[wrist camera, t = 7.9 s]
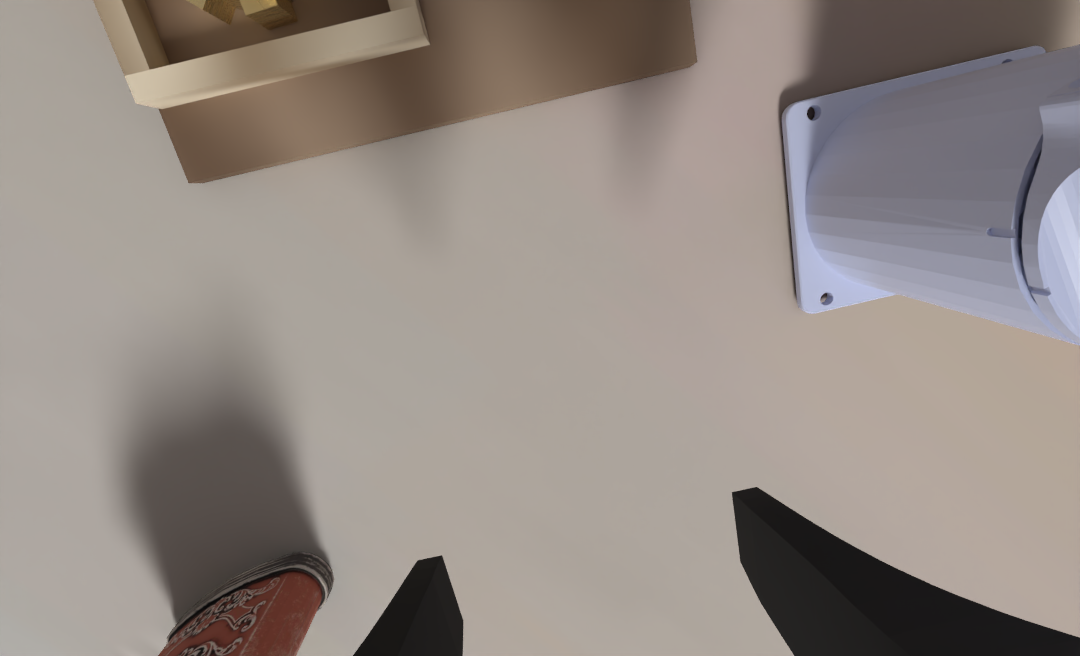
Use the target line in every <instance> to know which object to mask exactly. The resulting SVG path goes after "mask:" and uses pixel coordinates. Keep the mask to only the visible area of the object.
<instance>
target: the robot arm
mask: <svg viewBox="0 0 1080 656" xmlns="http://www.w3.org/2000/svg"><path fill="white" fill-rule="evenodd" d="M809 107H812V108H813V109H814V111H815V116H814V118H813V119H812V120H810V119H808V117H807V110H808V109H809ZM782 130H783V142H784V153H785V165H786V177H787V188H788V200H789V212H790V224H791V235H792V247H793V259H794V271H795V282H796V294H797V304H798V307H799V308H800V309H801V310H802V311H805V312H807V313H810V314H811V313H818V312H823V311H827V310H831V309H836V308H840V307H844V306H849V305H853V304H857V303H862V302H866V301H870V300H875V299H879V298H883V297H888V296H892V295H896V294H899V295H902V296H906V297H909V298H913V299H916V300H920V301H923V302H927V303H931V304H934V305H938V306H941V307H945V308H948V309H952V310H955V311H959V312H963V313H966V314H970V315H973V316H977V317H980V318H984V319H987V320H991V321H994V322H998V323H1002V324H1005V325H1009V326H1012V327H1016V328H1019V329H1023V330H1026V331H1030V332H1033V333H1037V334H1041V335H1044V336H1048V337H1051V338H1055V339H1058V340H1062V341H1065V342H1069V343H1073V344H1076V345H1080V44H1079V45H1075V46H1071V47H1067V48H1063V49H1059V50H1055V51H1051V52H1047V53H1046V51H1045V49H1044V48H1043V47H1041V46H1031V47H1027V48H1022V49H1018V50H1014V51H1010V52H1005V53H1001V54H997V55H993V56H989V57H984V58H980V59H976V60H972V61H967V62H963V63H959V64H955V65H950V66H946V67H942V68H938V69H934V70H929V71H925V72H921V73H917V74H912V75H908V76H904V77H900V78H895V79H891V80H887V81H883V82H879V83H874V84H870V85H866V86H862V87H857V88H853V89H849V90H845V91H840V92H836V93H832V94H828V95H823V96H819V97H815V98H811V99H807V100H802V101H798V102H795V103H792V104H790V105H788V107H787V108H786V109H785V110H784V112H783V114H782ZM824 293H827V299H826V300H825V302H823V303H821V302H820V298H821V296H822V295H823V294H824ZM732 497H733V505H734V513H735V521H736V529H737V537H738V545H739V553H740V561H741V563H742V566H743V568H744V570H745V572H746V574H747V576H748V578H749V580H750V582H751V584H752V586H753V588H754V590H755V592H756V594H757V596H758V598H759V600H760V602H761V604H762V605H763V607H764V609H765V610H766V612H767V613H768V615H769V617H770V618H771V620H772V621H773V623H774V624H775V626H776V628H777V629H778V631H779V632H780V634H781V636H782V637H783V639H784V640H785V642H786V643H787V645H788V646H789V648H790V650H791V651H792V653H793V654H794V656H1080V638H1079V637H1076V636H1072V635H1069V634H1066V633H1063V632H1060V631H1057V630H1053V629H1050V628H1047V627H1044V626H1041V625H1038V624H1035V623H1031V622H1028V621H1025V620H1022V619H1020V618H1017V617H1014V616H1011V615H1008V614H1005V613H1002V612H999V611H997V610H994V609H991V608H989V607H986V606H983V605H981V604H978V603H976V602H973V601H970V600H968V599H965V598H963V597H960V596H957V595H955V594H953V593H950V592H948V591H945V590H943V589H940V588H938V587H936V586H933V585H931V584H929V583H927V582H925V581H922V580H920V579H918V578H916V577H914V576H911V575H909V574H907V573H905V572H903V571H900V570H898V569H896V568H894V567H892V566H890V565H888V564H886V563H884V562H882V561H880V560H878V559H876V558H874V557H873V556H871V555H869V554H867V553H865V552H863V551H861V550H859V549H857V548H856V547H854V546H852V545H850V544H848V543H847V542H845V541H843V540H841V539H839V538H838V537H836V536H834V535H833V534H831V533H829V532H827V531H826V530H824V529H822V528H821V527H819V526H817V525H816V524H814V523H813V522H811V521H809V520H808V519H806V518H804V517H803V516H801V515H800V514H798V513H796V512H795V511H793V510H792V509H790V508H789V507H787V506H785V505H784V504H782V503H781V502H779V501H778V500H776V499H775V498H773V497H772V496H770V495H768V494H767V493H765V492H764V491H762V490H761V489H759V488H757V487H755V488H750V489H746V490H741V491H736V492H732ZM462 654H463V619H462V616H461V613H460V610H459V606H458V603H457V600H456V597H455V594H454V591H453V588H452V585H451V582H450V579H449V576H448V572H447V569H446V566H445V563H444V560H443V557H442V555H441V556H437V557H432V558H427V559H423V560H418V561H417V562H416V564H415V565H414V567H413V568H412V570H411V571H410V573H409V574H408V576H407V577H406V579H405V580H404V582H403V583H402V585H401V587H400V588H399V590H398V591H397V593H396V594H395V596H394V597H393V599H392V600H391V602H390V603H389V605H388V606H387V608H386V610H385V611H384V612H383V614H382V615H381V617H380V618H379V620H378V621H377V623H376V624H375V626H374V627H373V629H372V630H371V632H370V633H369V634H368V636H367V637H366V639H365V640H364V642H363V643H362V644H361V646H360V647H359V648H358V650H357V651H356V652H355V654H354V655H353V656H462Z"/></svg>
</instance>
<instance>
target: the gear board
mask: <svg viewBox="0 0 1080 656" xmlns="http://www.w3.org/2000/svg"><path fill="white" fill-rule="evenodd" d="M93 1H94V4H95V6H96V8H97V11H98V13H99V16H100V18H101V20H102V23H103V25H104V28H105V30H106V32H107V35H108V37H109V40H110V42H111V44H112V47H113V49H114V52H115V54H116V56H117V59H118V61H119V64H120V66H121V68H122V71H123V73H124V76H125V78H126V81H127V83H128V85H129V88H130V90H131V93H132V95H133V97H134V100H135V102H136V104H140V105H145V106H150V107H154V108H159V111H160V113H161V116H162V118H163V121H164V123H165V126H166V128H167V131H168V133H169V136H170V138H171V141H172V143H173V145H174V148H175V150H176V153H177V155H178V158H179V160H180V163H181V165H182V168H183V170H184V173H185V175H186V178H187V180H188V182H189V183H205V182H209V181H213V180H218V179H222V178H226V177H230V176H234V175H239V174H243V173H247V172H251V171H255V170H260V169H264V168H268V167H272V166H276V165H281V164H285V163H289V162H293V161H297V160H302V159H306V158H310V157H314V156H318V155H323V154H327V153H331V152H335V151H339V150H344V149H348V148H352V147H356V146H361V145H365V144H369V143H373V142H377V141H382V140H386V139H390V138H394V137H398V136H403V135H407V134H411V133H415V132H419V131H424V130H428V129H432V128H436V127H440V126H445V125H449V124H453V123H457V122H461V121H466V120H470V119H474V118H478V117H482V116H487V115H491V114H495V113H499V112H503V111H508V110H512V109H516V108H520V107H524V106H529V105H533V104H537V103H541V102H545V101H550V100H554V99H558V98H562V97H566V96H571V95H575V94H579V93H583V92H588V91H592V90H596V89H600V88H604V87H609V86H613V85H617V84H621V83H625V82H630V81H634V80H638V79H642V78H646V77H651V76H655V75H659V74H663V73H667V72H672V71H676V70H680V69H684V68H688V67H691V66H692V65H693V64H695V63H696V62H697V56H696V48H695V40H694V32H693V24H692V16H691V8H690V0H294V1H292V2H291V3H292V5H293V8H294V11H295V13H296V16H297V19H298V21H297V22H294V23H291V24H288V25H285V26H282V27H278V28H275V29H272V30H268V29H266V28H265V27H263V26H262V25H260V24H258V23H257V22H255V21H254V20H252V19H251V18H249V17H247V16H246V15H245V12H244V10H241V9H237V8H236V10H235V13H234V16H233V19H232V22H231V24H230V25H229V24H227V23H225V22H223V21H222V20H220V19H218V18H216V17H215V16H213V15H211V14H209V13H208V12H206V11H204V10H202V9H200V8H199V7H197V6H195V5H193V4H192V3H190V2H188V1H186V0H93Z"/></svg>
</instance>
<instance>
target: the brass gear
mask: <svg viewBox="0 0 1080 656" xmlns="http://www.w3.org/2000/svg"><path fill="white" fill-rule="evenodd" d="M186 1H188V2H190V3H192V4H193V5H195V6H197V7H199V8H200V9H202V10H204V11H206V12H208V13H209V14H211V15H213V16H215V17H216V18H218V19H220V20H222V21H223V22H225V23H227V24H229V25H230V24H231V22H232V19H233V16H234V13H235V10H236V8H237V9H241V10H244V12H245V15H246V16H247V17H249V18H251V19H252V20H254V21H255V22H257V23H258V24H260V25H262V26H263V27H265V28H266V29H268V30H272V29H275V28H278V27H282V26H285V25H288V24H291V23H294V22H297V21H298V19H297V16H296V13H295V11H294V8H293V5H292V3H291V2H292V1H294V0H186Z"/></svg>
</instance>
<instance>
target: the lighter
mask: <svg viewBox="0 0 1080 656" xmlns="http://www.w3.org/2000/svg"><path fill="white" fill-rule="evenodd" d="M333 582H334V577H333V573H332V570H331V569H330V567H329V566H328V564H327V563H326V562H324V561H323V560H322V559H321V558H320V557H317V556H315V555H313V554H311V553H305V552H298V553H292V554H289V555H286V556H283V557H281V558H278V559H275V560H272V561H269V562H266V563H263V564H261V565H259V566H257V567H254V568H252V569H250V570H248V571H246V572H244V573H242V574H240V575H238V576H236V577H234V578H232V579H230V580H229V581H227V582H226V583H224V584H223V585H221V586H220V587H218V588H217V589H215V590H214V591H212V592H211V593H209V594H208V595H206V596H205V597H204V598H203V599H201V600H200V601H199V602H198V603H197V604H196V605H195V606H193V607H192V608H191V609H190V610H189V611H188V612H187V613H185V614H184V615H183V616H182V618H181V619H180V620H179V622H178V623H177V624H176V626H175V627H174V628H173V629H172V631H171V632H170V634H169V635H168V637H167V644H166V646H165V647H164V649H163V650H162V651H161V653H160V654H159V655H158V656H296V655H297V652H298V650H299V648H300V646H301V644H302V642H303V640H304V637H305V635H306V633H307V631H308V629H309V627H310V624H311V622H312V620H313V618H314V616H315V614H316V612H317V611H318V610H319V609H320V608H322V606H323V605H324V604H325V602H326V600H327V598H328V596H329V594H330V592H331V589H332V587H333Z"/></svg>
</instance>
